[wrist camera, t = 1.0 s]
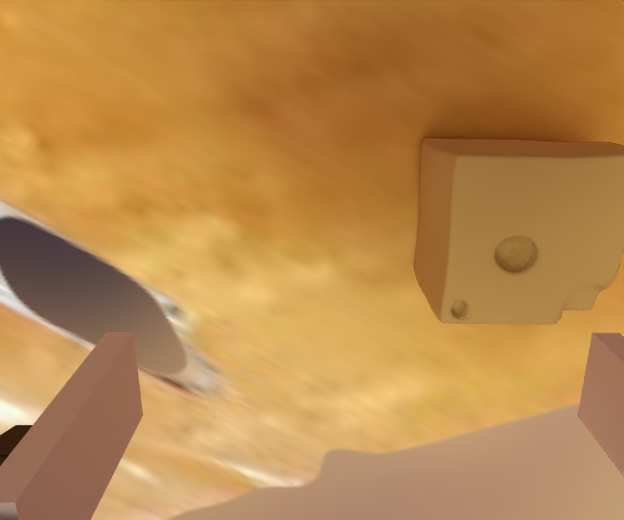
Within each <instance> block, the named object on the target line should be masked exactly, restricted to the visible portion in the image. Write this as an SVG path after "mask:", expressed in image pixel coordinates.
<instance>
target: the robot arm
mask: <svg viewBox="0 0 624 520" xmlns="http://www.w3.org/2000/svg"><path fill="white" fill-rule="evenodd" d="M142 416H143V412H142V403H141V394H140V386H139V377H138V369H137V360H136V352H135V343H134V334H133V333H106V334H105V336H103V338H102V339H101V340H100V342H99V343H98V344H97V345H96V347H95V348H94V349H93V350H92V352H91V353H90V354H89V355H88V357H87V358H86V359H85V360H84V362H83V363H82V364H81V365H80V367H79V368H78V369H77V370H76V372H75V373H74V374H73V375H72V377H71V378H70V379H69V380H68V382H67V383H66V384H65V386H64V387H63V388H62V389H61V391H60V392H59V393H58V394H57V396H56V397H55V398H54V399H53V401H52V402H51V403H50V404H49V406H48V407H47V408H46V409H45V411H44V412H43V413H42V414H41V416H40V417H39V418H38V419H37V421H36V422H35V423H34V424H33V425H15V426H14V427H12V428H11V429H9V430H8V431H6V432H5V433H3V434H2V435H0V520H91V518H92V516H93V514H94V512H95V510H96V508H97V506H98V504H99V502H100V500H101V498H102V496H103V494H104V492H105V490H106V488H107V486H108V484H109V482H110V480H111V478H112V476H113V474H114V472H115V470H116V468H117V466H118V464H119V462H120V460H121V458H122V456H123V454H124V452H125V450H126V448H127V446H128V444H129V442H130V440H131V438H132V436H133V434H134V432H135V430H136V428H137V426H138V424H139V422H140V420H141V418H142ZM578 417H579V418H580V419H581V420H582V422H583V423H584V425H585V426H586V427H587V429H588V430H589V431H590V433H591V434H592V435H593V436H594V438H595V439H596V440H597V442H598V443H599V444H600V446H601V447H602V448H603V450H604V451H605V452H606V454H607V455H608V456H609V458H610V459H611V460H612V462H613V463H614V464H615V466H616V467H617V468H618V470H619V471H620V472H621V473H622V475H623V476H624V337H623V336H622V335H621V334H620V333H592V338H591V343H590V349H589V354H588V360H587V366H586V371H585V377H584V383H583V388H582V394H581V400H580V405H579V411H578Z"/></svg>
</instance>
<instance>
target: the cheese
mask: <svg viewBox="0 0 624 520" xmlns="http://www.w3.org/2000/svg"><path fill="white" fill-rule="evenodd" d="M623 251H624V146H623V145H620V144H615V143H610V142H580V143H565V142H555V141H536V140H516V139H442V138H424V139H423V142H422V150H421V163H420V188H419V218H418V230H417V241H416V251H415V261H414V270H415V274H416V278H417V281H418V283H419V285H420V287H421V289H422V291H423V293H424V295H425V296H426V298H427V300H428V303H429V304H430V307H431V309H432V310H433V312H434V313H435V315H436V316H437V318H438V319H439V321H440V322H442V323H454V324H555V323H557V322H558V320H559V319H560V318H561V316H562V311H564V310H589V309H591V308H592V307H593V305H594V302H595V299H596V297H597V295H598V293H599V292H601V291H602V290H604V289H606V288H608V287H609V286H610V285H611V284H612V282H613V281H614V279H615V278H616V275H617V272H618V270H619V267H620V263H621V259H622V255H623Z"/></svg>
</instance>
